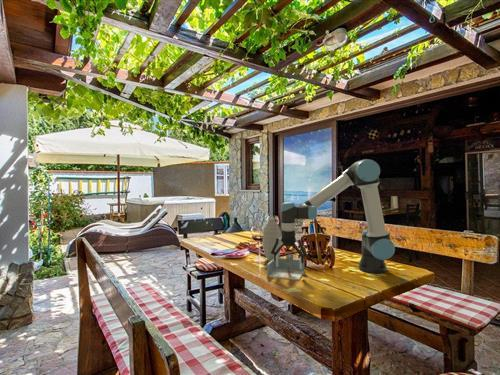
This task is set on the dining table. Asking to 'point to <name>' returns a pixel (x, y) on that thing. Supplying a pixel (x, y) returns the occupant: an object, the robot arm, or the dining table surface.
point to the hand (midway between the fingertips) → (288, 267)
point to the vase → (271, 238)
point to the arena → (285, 269)
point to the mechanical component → (289, 262)
